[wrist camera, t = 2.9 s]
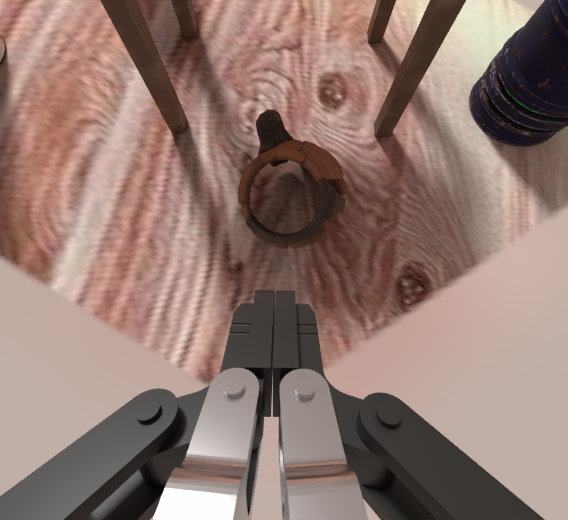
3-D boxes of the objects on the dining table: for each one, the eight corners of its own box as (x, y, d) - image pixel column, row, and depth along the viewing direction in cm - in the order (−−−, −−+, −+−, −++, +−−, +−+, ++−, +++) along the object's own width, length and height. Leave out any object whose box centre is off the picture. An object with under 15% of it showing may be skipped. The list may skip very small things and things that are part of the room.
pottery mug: (366, 216, 28) (365, 221, 20) (284, 256, 31) (255, 274, 23) (312, 104, 27) (288, 65, 20) (234, 156, 31) (188, 140, 23)
